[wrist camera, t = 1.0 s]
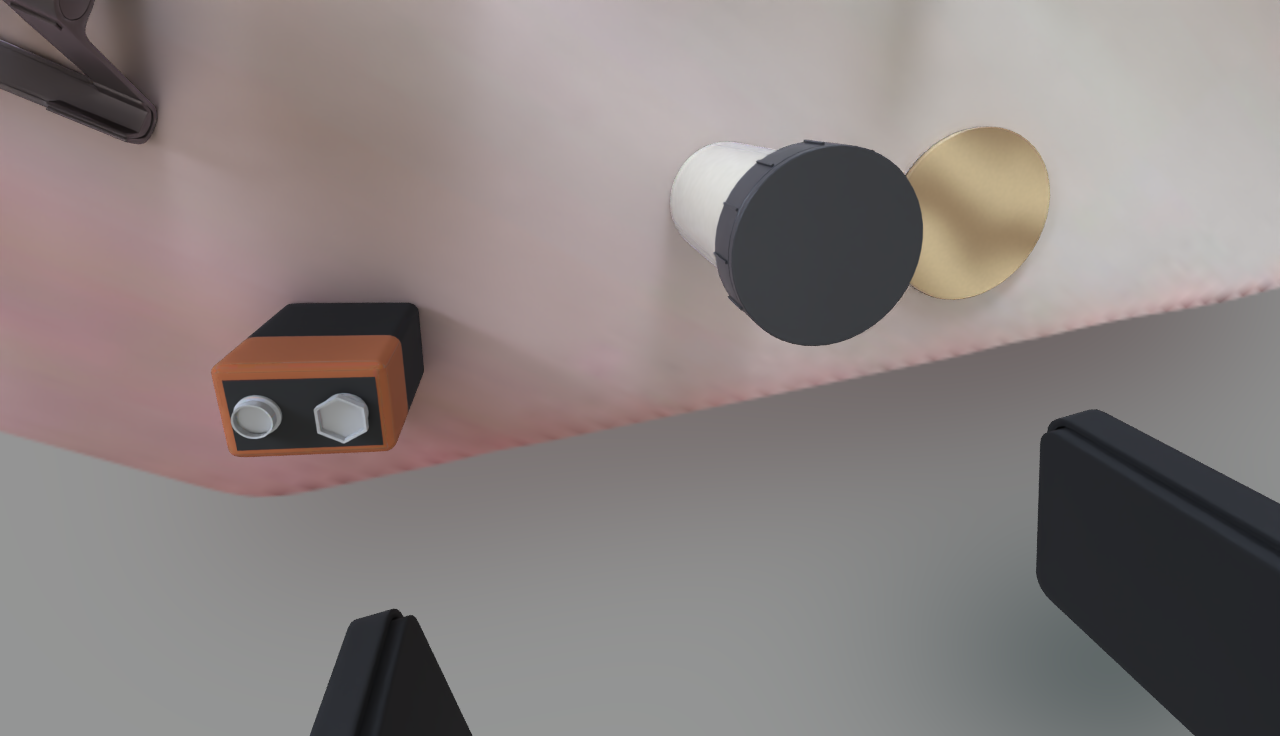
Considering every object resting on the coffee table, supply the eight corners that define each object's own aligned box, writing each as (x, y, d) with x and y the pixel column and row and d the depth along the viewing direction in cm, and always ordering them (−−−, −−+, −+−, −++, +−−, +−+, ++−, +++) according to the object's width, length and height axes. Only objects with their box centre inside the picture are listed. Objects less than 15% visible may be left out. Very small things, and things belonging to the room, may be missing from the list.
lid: (735, 126, 23) (755, 129, 21) (914, 156, 25) (950, 161, 23) (698, 318, 26) (713, 337, 24) (862, 334, 27) (890, 354, 25)
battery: (425, 374, 36) (392, 465, 27) (297, 377, 35) (217, 473, 26) (419, 300, 35) (381, 370, 26) (283, 301, 34) (193, 374, 25)
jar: (680, 132, 34) (763, 149, 22) (788, 150, 35) (922, 175, 23) (661, 247, 36) (728, 320, 24) (763, 260, 37) (875, 334, 25)
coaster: (918, 113, 35) (922, 113, 35) (1070, 141, 37) (1076, 141, 37) (867, 289, 39) (871, 290, 38) (1009, 305, 41) (1014, 307, 41)
